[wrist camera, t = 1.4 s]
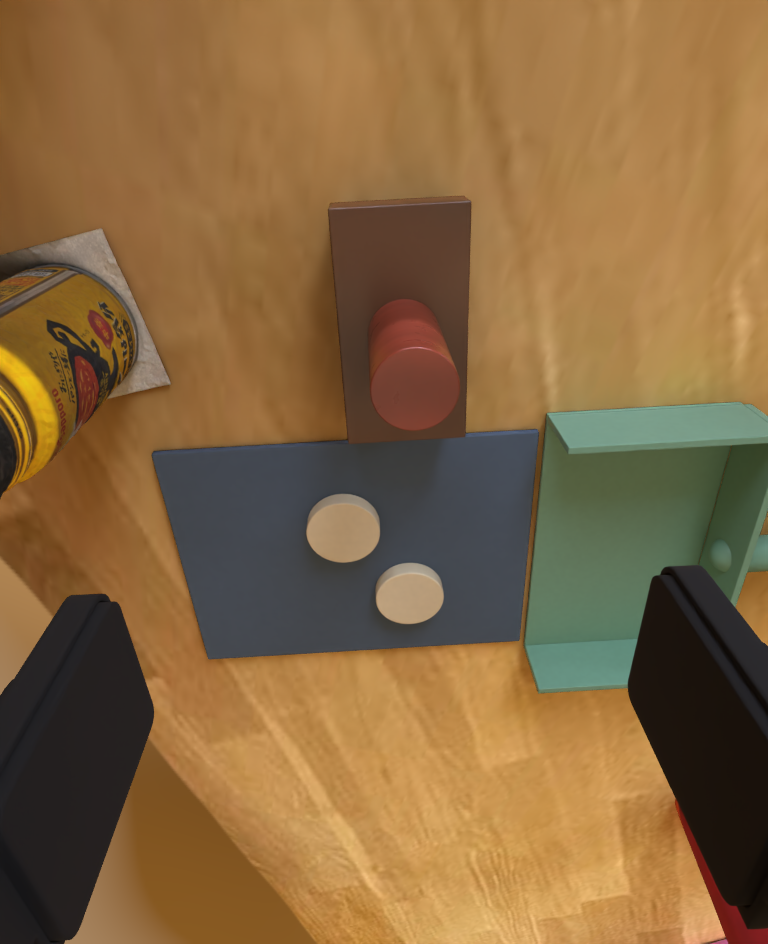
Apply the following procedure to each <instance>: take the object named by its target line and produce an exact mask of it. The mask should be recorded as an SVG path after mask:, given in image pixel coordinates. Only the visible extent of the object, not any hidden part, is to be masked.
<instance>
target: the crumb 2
mask: <svg viewBox="0 0 768 944" xmlns="http://www.w3.org/2000/svg"><path fill="white" fill-rule="evenodd" d="M375 592H376V604H377V607H378V609H379V611H380V612H381V613H382V614H383V615H384V616H385V617H386V618H387V619H389V620H391V621H394V622H397V623H401V624H415V623H420V622H423V621H425V620H428V619H429V618H431V617H432V616H434V615H435V614H436V613H437V612H438V611H439V609H440V608H441V606H442V604H443V600H444V593H443V587H442V582H441V579H440V577H439V576H438V574H437V573H436V572H435V571H434V570H432V569H431V568H429V567H427V566H425V565H422V564H418V563H402V564H398V565H395V566H393V567H391V568H389V569H388V570H386V571H385V572H384V573H383V574H382V575H381V576H380V578H379V579H378V581H377V584H376V589H375Z"/></svg>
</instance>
